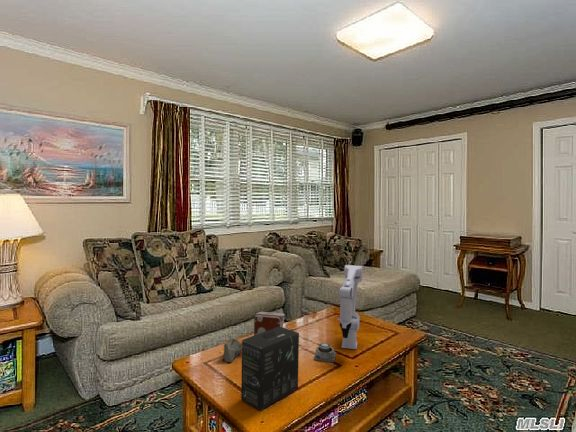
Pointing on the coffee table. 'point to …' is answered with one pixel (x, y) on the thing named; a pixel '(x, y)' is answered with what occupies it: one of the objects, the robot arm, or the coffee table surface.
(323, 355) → the mount
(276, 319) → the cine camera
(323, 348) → the lens
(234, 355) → the mineral rock
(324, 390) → the coffee table surface
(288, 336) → the headset box
